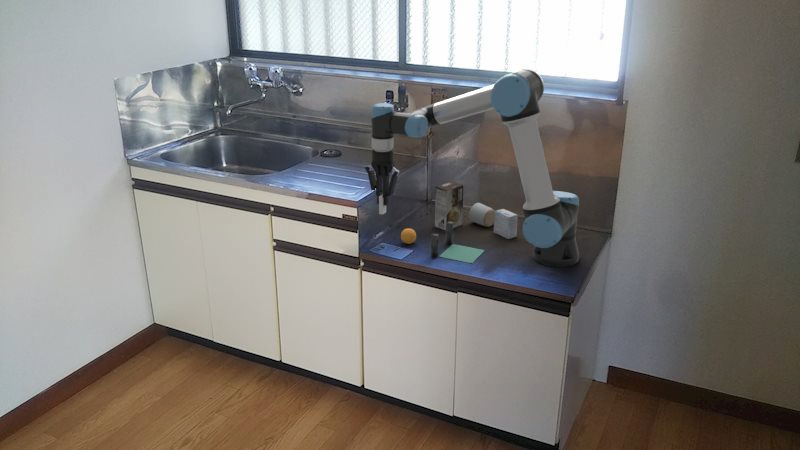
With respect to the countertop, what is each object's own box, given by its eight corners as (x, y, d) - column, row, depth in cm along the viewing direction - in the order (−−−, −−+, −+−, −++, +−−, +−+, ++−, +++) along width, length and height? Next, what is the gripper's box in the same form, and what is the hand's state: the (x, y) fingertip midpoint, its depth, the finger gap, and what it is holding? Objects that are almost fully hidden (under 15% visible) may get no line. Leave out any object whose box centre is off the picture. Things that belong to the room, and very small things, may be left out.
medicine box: (516, 237, 247) (518, 214, 244) (507, 239, 245) (509, 217, 242) (502, 230, 254) (503, 208, 250) (493, 232, 251) (494, 210, 248)
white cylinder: (484, 229, 254) (485, 210, 251) (468, 223, 260) (469, 204, 257) (502, 223, 261) (504, 204, 258) (486, 217, 266) (487, 198, 264)
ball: (418, 241, 243) (418, 227, 241) (412, 247, 239) (412, 232, 237) (405, 239, 246) (405, 225, 244) (398, 244, 241) (398, 230, 239)
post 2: (454, 242, 242) (454, 221, 239) (451, 245, 240) (451, 224, 237) (447, 241, 243) (447, 220, 241) (444, 244, 241) (444, 223, 238)
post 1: (439, 255, 232) (440, 234, 229) (436, 258, 230) (436, 236, 227) (432, 254, 233) (433, 232, 230) (429, 257, 231) (429, 235, 228)
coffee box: (450, 220, 263) (451, 180, 257) (463, 224, 258) (464, 184, 253) (434, 226, 257) (434, 185, 251) (446, 231, 253) (447, 189, 247)
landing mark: (484, 250, 236) (484, 250, 236) (472, 263, 226) (472, 263, 226) (452, 244, 241) (452, 244, 241) (438, 256, 231) (438, 256, 231)
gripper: (404, 148, 234) (403, 212, 243) (371, 144, 240) (371, 206, 249) (394, 154, 228) (394, 219, 237) (360, 149, 234) (361, 213, 243)
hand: (382, 212), depth 243 cm, fingers closed
